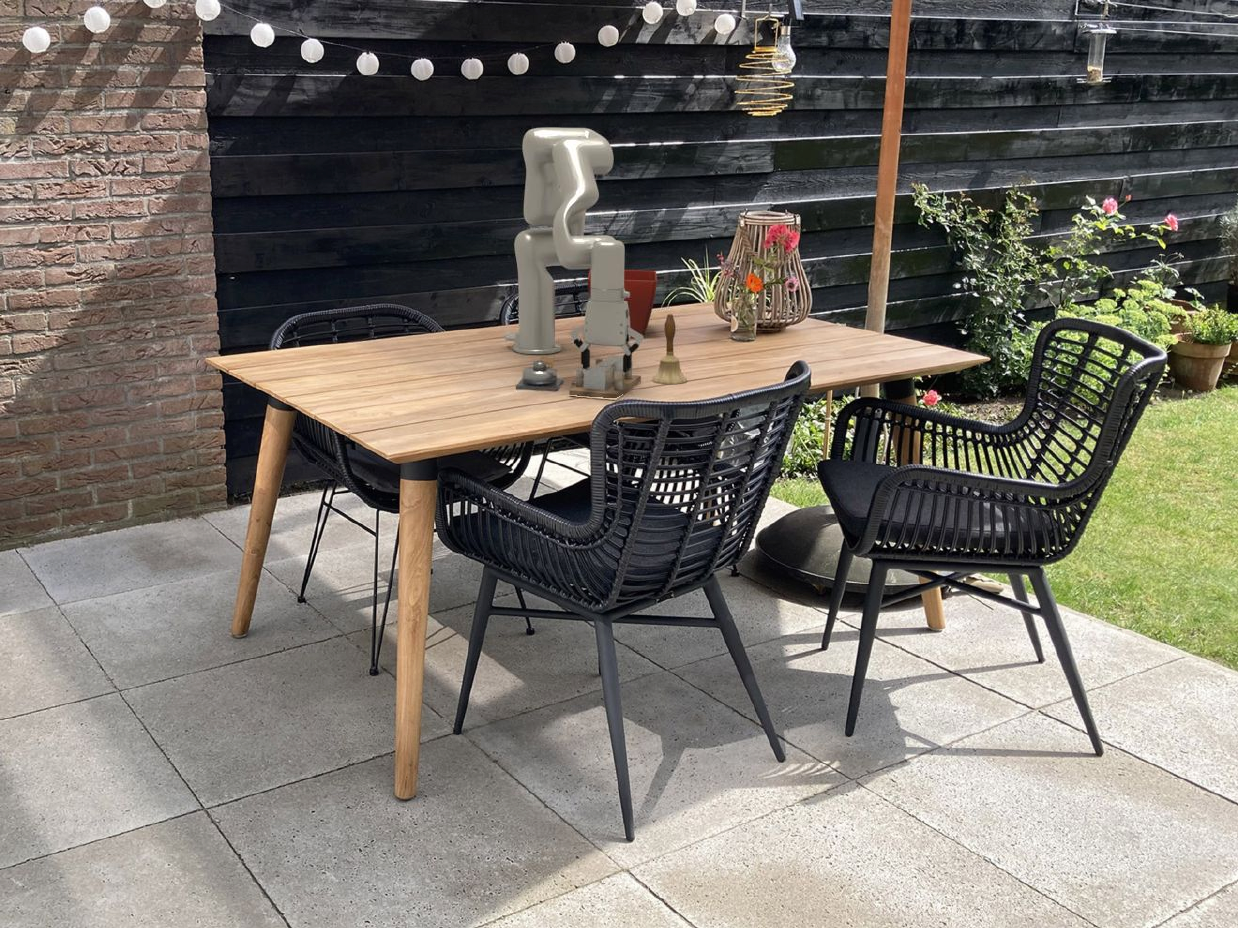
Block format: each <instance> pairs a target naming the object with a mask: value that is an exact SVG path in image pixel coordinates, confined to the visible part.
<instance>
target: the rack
mask: <svg viewBox="0 0 1238 928" xmlns="http://www.w3.org/2000/svg"><path fill="white" fill-rule="evenodd" d="M603 360H604V358H596V359H595V365H597V364H599V363H600V362H602V361H603ZM632 364H633V361H632ZM584 370H585V369H583V367H582V368H581V367H577V368H575V383H576V384H575V385H574V386H573V387H572V388H570V389H569V391H568V396H569V395H577V396H589V397H603V398H617V397H619V396H621V395H622V394H624V393H625V394H626V393H628V392H629V391H631V390H632V389H633V388H634V386H635V387H636V386H637V385H639V384H640V383H641V381H642V377H641V375H637V374H635V375H634V374H633V365H632V366H631V368H630V369H629V371H627V372H624V375H623V376H622V372H621V371H615V372H614V382H613V386H612V387H610V388H609V389H608V390H606V391H596V390H585V389H584ZM639 382H640V383H639ZM638 383H639V384H638ZM630 389H631V390H630ZM625 394H624V395H625ZM621 397H622V396H621ZM612 401H614V400H612Z"/></svg>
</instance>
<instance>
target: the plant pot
mask: <svg viewBox="0 0 1238 928" xmlns="http://www.w3.org/2000/svg"><path fill="white" fill-rule="evenodd" d="M657 284H658V278H657V271H656V270H638V269H637V270H635V269H632V270H631V269H624V288H625V291H627V292H630V297H629V298H627V297H626V298H625V299H624V301H627V303H628V309H629V317H630V328H631V329H633V330H635V331H636V332H638V333H640V334H641V335H643V336H644V337H645V335H646V332H647V329H648V326H649V322H650V319H651V314H652V312H653V307H654V302H655V297H656V293H657ZM587 289H588V290H587V291H588V294H589V295H588V296H589V300H591V269H589V273H588V277H587ZM632 338H633V337H632V336H630V339H632ZM633 339H634V338H633Z"/></svg>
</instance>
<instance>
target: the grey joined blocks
mask: <svg viewBox="0 0 1238 928" xmlns="http://www.w3.org/2000/svg"><path fill="white" fill-rule="evenodd" d="M615 371H621V372H622V376H623V375H624V374H625V372H623V355H617V354H616V355H614V354H612V355H610V356H608V357H607V358H605V359H603V361H602V362H600V363H599V364H597V365H594V364H592V365H591V364H590V367H588V368H586V369H584V375H583V381H584V389H585V390H596V391H606V390H608V389H609V388H610V387H612V386H613V382H614V372H615Z"/></svg>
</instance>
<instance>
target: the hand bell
mask: <svg viewBox="0 0 1238 928" xmlns="http://www.w3.org/2000/svg"><path fill="white" fill-rule="evenodd" d="M675 334H676V321H675V318H674V314H672V313H669V314H667V315H666V319H665V323H664V335H665V339H666V346H665V347H666V350H665V351H666V355H664V356H663V357H661V358H660V361H659V368H658V370H657V372H656V374H655V375H654V376H653V377H652V379H651V380H652V383H656V384H661V385H680V384H684V383H687V381H688V380H687V377H686V376H684V374H683V372H682V369H681V365H680V358H678V357H677V356H675V355H674V338H675V336H676V335H675Z"/></svg>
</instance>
